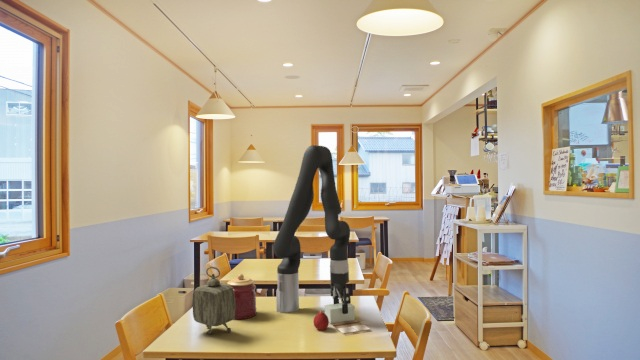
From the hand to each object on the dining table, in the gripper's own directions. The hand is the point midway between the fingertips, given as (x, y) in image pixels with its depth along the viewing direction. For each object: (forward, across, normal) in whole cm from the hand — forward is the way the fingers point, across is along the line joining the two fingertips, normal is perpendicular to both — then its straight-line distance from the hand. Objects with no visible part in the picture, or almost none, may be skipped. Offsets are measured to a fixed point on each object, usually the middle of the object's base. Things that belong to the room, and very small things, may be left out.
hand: (340, 310), depth 176 cm
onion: (+5, +7, -11) cm, 14 cm away
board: (+5, +6, 0) cm, 8 cm away
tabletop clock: (+4, -9, -49) cm, 50 cm away
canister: (+4, -26, -35) cm, 44 cm away
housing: (+4, 0, 0) cm, 4 cm away
